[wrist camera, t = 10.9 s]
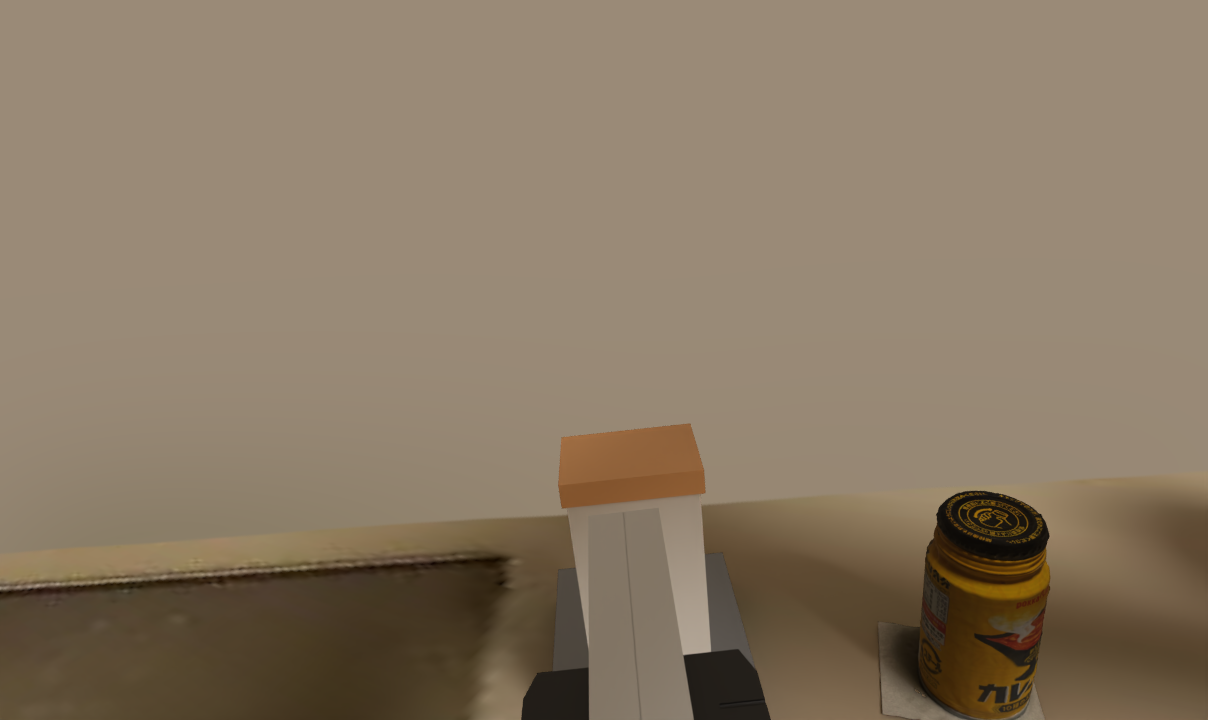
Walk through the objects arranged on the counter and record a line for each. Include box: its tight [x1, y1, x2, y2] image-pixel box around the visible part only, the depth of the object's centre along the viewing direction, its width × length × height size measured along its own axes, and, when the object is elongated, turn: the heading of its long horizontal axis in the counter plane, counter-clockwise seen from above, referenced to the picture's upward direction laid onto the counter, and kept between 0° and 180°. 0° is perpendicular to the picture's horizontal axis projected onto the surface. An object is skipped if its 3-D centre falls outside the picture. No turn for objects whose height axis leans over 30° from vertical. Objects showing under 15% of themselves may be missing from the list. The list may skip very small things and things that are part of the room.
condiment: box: [878, 491, 1050, 720], centre depth 40 cm, size 7×8×12 cm
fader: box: [558, 424, 711, 655], centre depth 36 cm, size 4×6×16 cm
